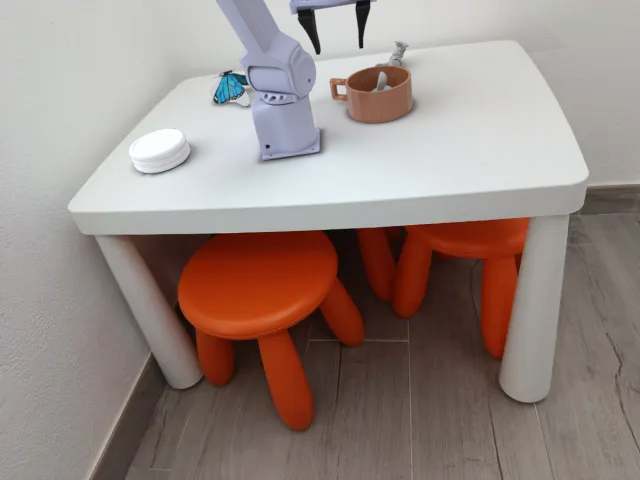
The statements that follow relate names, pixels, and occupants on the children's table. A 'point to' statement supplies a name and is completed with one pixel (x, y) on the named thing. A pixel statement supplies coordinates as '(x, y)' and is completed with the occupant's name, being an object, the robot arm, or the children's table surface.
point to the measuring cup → (376, 94)
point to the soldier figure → (396, 54)
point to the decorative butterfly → (230, 88)
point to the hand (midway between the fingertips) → (339, 49)
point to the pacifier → (382, 82)
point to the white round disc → (159, 150)
